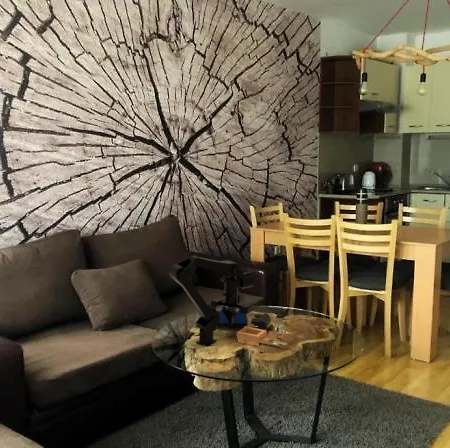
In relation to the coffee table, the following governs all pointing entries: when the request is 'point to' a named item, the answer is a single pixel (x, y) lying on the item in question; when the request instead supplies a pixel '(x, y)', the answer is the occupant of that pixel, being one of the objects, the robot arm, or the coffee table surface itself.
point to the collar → (251, 334)
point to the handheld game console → (238, 321)
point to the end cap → (261, 321)
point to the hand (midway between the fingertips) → (231, 324)
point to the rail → (272, 341)
